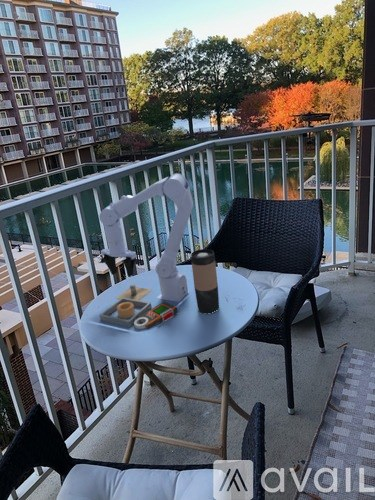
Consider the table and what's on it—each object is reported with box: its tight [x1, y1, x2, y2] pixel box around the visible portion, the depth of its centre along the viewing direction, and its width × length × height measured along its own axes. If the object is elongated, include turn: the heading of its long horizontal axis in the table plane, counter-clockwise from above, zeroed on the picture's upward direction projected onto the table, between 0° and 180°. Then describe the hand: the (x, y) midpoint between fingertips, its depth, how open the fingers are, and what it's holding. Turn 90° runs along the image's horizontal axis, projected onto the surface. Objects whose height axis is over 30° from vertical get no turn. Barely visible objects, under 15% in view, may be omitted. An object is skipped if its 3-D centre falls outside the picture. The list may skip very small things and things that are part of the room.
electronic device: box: [133, 300, 179, 330], centre depth 120 cm, size 7×3×15 cm
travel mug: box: [190, 248, 220, 315], centre depth 120 cm, size 8×8×20 cm
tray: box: [99, 298, 153, 328], centre depth 125 cm, size 12×12×2 cm
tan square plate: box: [115, 284, 153, 301], centre depth 137 cm, size 10×10×4 cm
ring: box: [116, 302, 136, 319], centre depth 125 cm, size 7×6×3 cm
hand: (122, 274), depth 134 cm, fingers open, 7 cm apart
